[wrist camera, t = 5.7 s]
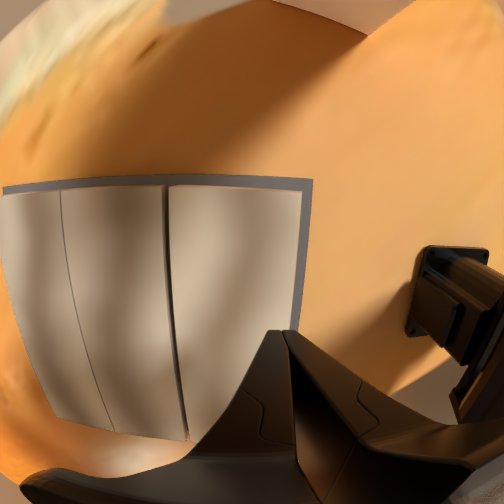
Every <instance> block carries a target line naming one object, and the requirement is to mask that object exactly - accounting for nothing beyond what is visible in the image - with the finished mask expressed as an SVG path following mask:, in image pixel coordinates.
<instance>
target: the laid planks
mask: <svg viewBox="0 0 504 504" xmlns="http://www.w3.org/2000/svg"><path fill="white" fill-rule="evenodd" d="M0 257H1V262H2V267H3V272H4V277H5V281H6V285H7V289H8V293H9V297H10V301H11V305H12V308H13V312H14V315H15V318H16V322H17V325H18V328H19V331H20V334H21V337H22V340H23V343H24V345H25V348H26V351H27V353H28V356H29V359H30V361H31V364H32V366H33V369H34V371H35V373H36V376H37V378H38V380H39V382H40V385H41V387H42V389H43V391H44V393H45V395H46V398H47V400H48V402H49V404H50V406H51V408H52V410H53V412H54V413H55V415H56V417H57V418H60V419H64V420H67V421H71V422H75V423H79V424H83V425H87V426H91V427H95V428H100V429H104V430H109V431H114V432H115V431H116V432H120V433H125V434H131V435H137V436H144V437H151V438H159V439H168V440H178V441H186V438H187V424H186V418H185V412H184V406H183V399H182V392H181V385H180V378H179V370H178V362H177V354H176V345H175V335H174V325H173V314H172V302H171V289H170V273H169V254H168V226H167V185H132V186H106V187H87V188H72V189H58V190H46V191H35V192H25V193H16V194H7V195H2V196H0Z"/></svg>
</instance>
